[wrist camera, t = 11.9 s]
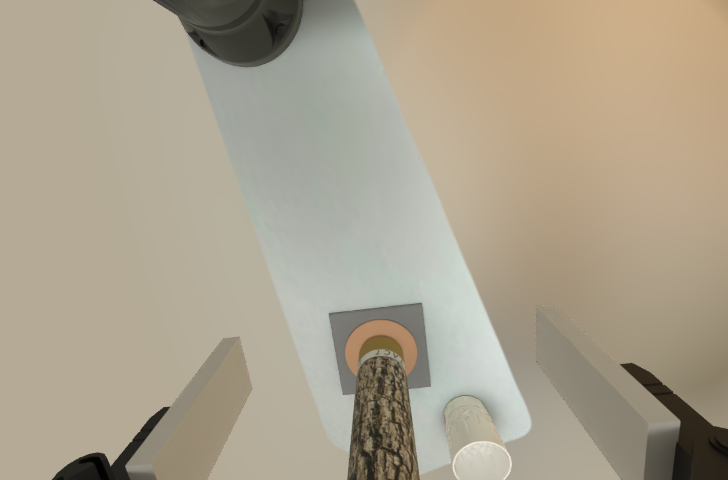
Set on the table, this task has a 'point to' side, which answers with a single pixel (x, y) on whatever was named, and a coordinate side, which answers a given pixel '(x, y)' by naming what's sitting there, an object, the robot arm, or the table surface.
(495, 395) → the table surface
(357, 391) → the brown bark cylinder
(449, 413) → the white cup
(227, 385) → the robot arm
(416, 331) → the coaster
